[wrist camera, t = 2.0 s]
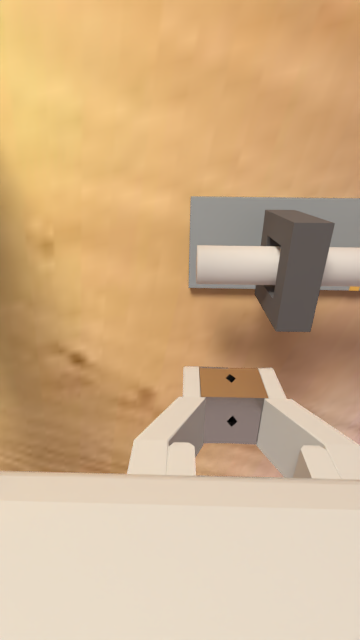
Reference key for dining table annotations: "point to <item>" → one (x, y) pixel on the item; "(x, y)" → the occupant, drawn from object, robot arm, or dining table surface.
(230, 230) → the pipe stand
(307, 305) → the grey rectangular frame
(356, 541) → the robot arm
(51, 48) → the dining table surface
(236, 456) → the dining table surface
